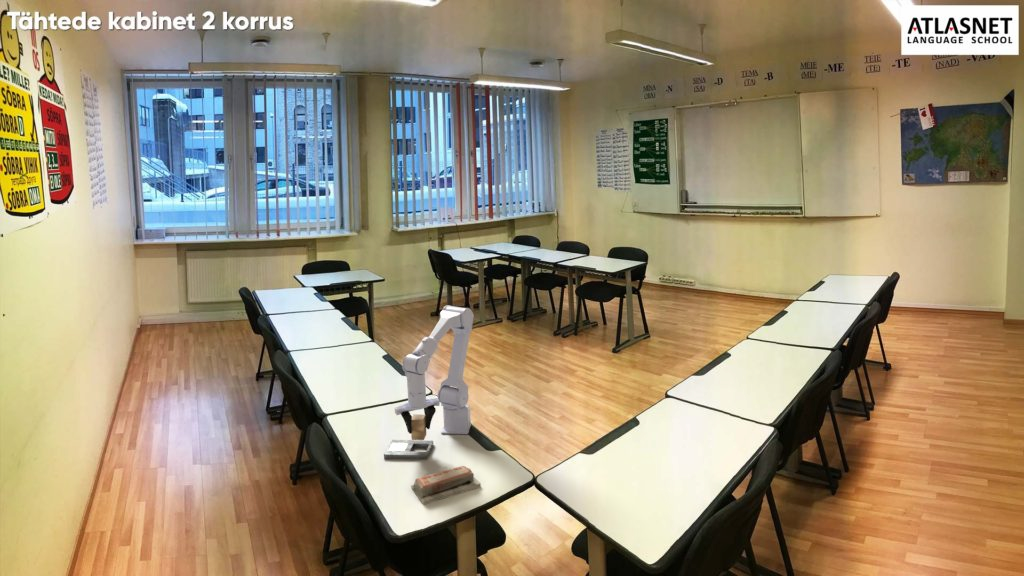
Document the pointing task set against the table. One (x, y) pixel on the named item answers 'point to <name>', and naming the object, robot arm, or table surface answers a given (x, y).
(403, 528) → the table surface
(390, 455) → the plate
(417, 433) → the peg
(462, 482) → the packaged product
